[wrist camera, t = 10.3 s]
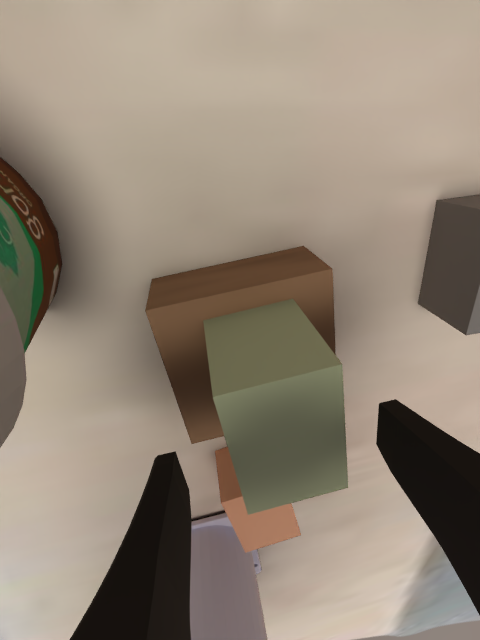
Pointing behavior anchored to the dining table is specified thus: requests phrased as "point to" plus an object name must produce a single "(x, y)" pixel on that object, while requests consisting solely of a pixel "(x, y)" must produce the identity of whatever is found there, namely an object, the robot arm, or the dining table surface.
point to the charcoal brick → (454, 264)
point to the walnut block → (222, 299)
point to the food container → (22, 284)
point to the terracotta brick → (255, 526)
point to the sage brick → (278, 404)
